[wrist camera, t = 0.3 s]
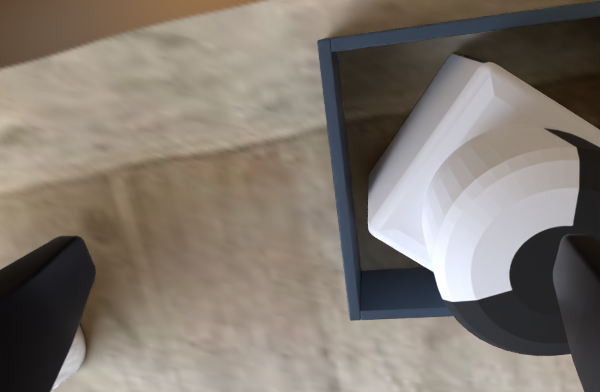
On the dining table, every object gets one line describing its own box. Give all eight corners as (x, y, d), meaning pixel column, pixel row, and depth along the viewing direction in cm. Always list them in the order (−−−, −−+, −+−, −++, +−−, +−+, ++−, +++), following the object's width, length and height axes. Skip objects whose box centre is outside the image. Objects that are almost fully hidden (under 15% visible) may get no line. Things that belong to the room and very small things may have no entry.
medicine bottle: (583, 131, 23) (796, 235, 11) (485, 250, 25) (581, 433, 14) (452, 49, 22) (537, 70, 11) (365, 177, 25) (362, 303, 13)
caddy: (604, 265, 25) (646, 308, 21) (352, 279, 27) (349, 321, 23) (619, -3, 21) (675, -9, 17) (325, 38, 23) (317, 40, 19)
